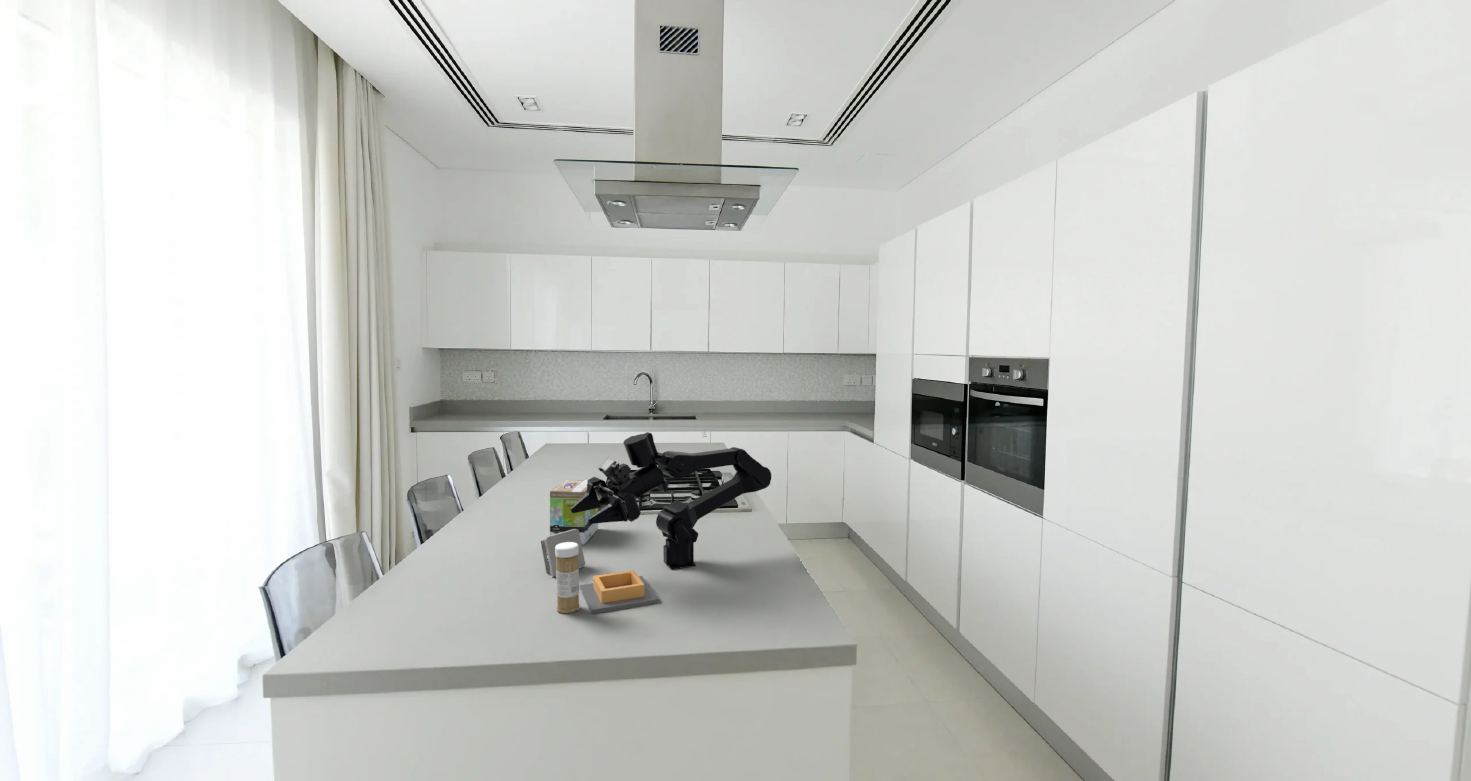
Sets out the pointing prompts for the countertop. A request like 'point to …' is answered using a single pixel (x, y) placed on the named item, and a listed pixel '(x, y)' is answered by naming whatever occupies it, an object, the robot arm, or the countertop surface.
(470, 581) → the countertop surface
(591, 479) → the robot arm
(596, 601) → the socket
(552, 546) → the electrical switch
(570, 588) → the sprinkles bottle
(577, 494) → the tea box
